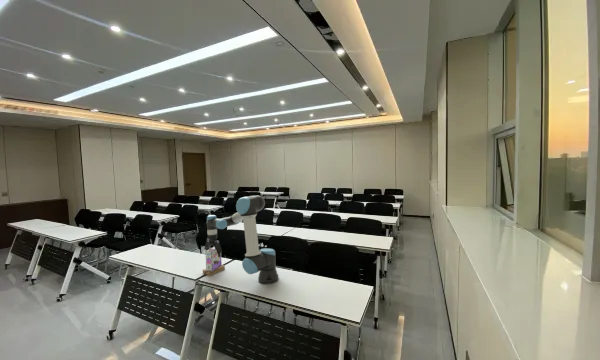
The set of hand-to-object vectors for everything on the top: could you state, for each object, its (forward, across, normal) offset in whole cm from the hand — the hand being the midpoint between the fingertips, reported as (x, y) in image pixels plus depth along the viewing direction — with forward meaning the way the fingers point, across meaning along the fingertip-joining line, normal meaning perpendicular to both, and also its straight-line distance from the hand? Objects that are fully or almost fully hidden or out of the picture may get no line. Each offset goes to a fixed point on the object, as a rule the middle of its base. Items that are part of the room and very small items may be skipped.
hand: (213, 259), depth 207 cm
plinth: (+10, 0, 0) cm, 10 cm away
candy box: (+7, 0, 0) cm, 7 cm away
